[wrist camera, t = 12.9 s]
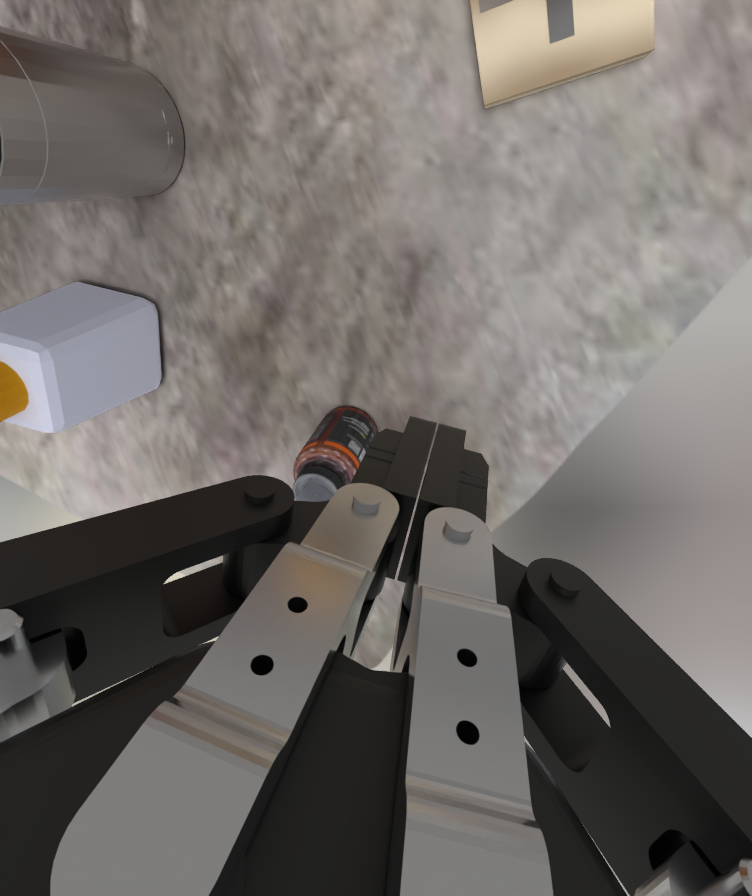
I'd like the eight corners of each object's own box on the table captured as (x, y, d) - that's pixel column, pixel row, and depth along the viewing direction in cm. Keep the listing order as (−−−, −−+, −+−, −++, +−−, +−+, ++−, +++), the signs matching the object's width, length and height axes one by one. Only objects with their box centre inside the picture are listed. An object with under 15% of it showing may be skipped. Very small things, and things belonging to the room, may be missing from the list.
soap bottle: (34, 266, 49) (-266, 327, 30) (163, 298, 47) (-66, 383, 28) (50, 357, 54) (-197, 459, 35) (168, 388, 52) (-24, 513, 33)
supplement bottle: (317, 445, 51) (273, 509, 42) (329, 396, 48) (285, 452, 39) (371, 465, 51) (340, 534, 41) (387, 417, 48) (357, 478, 38)
